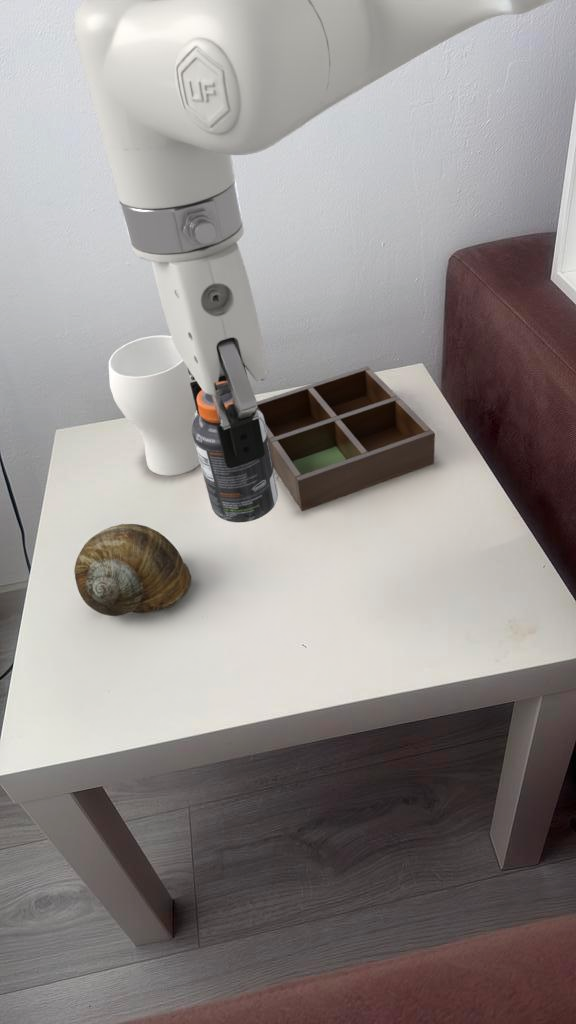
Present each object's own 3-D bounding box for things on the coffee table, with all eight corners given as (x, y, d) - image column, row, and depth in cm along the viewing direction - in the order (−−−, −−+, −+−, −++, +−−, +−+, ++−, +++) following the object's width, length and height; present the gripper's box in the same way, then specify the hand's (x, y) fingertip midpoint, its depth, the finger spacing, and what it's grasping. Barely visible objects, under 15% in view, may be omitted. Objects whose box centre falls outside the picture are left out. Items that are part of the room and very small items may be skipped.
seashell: (80, 633, 75) (55, 581, 70) (93, 567, 82) (70, 515, 77) (190, 620, 75) (172, 566, 69) (193, 555, 82) (177, 501, 76)
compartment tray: (434, 463, 89) (435, 433, 86) (301, 511, 85) (297, 481, 82) (369, 394, 101) (367, 365, 98) (251, 433, 97) (245, 405, 94)
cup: (179, 423, 101) (153, 324, 91) (233, 449, 95) (212, 347, 85) (119, 464, 96) (85, 364, 86) (173, 494, 90) (143, 390, 80)
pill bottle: (289, 486, 65) (271, 377, 58) (261, 531, 61) (238, 420, 54) (230, 475, 68) (205, 368, 60) (199, 517, 64) (169, 409, 56)
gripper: (286, 244, 43) (316, 482, 55) (198, 170, 55) (238, 377, 67) (163, 279, 41) (222, 517, 53) (101, 195, 53) (160, 403, 65)
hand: (231, 437), depth 60 cm, fingers closed on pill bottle, 6 cm apart
